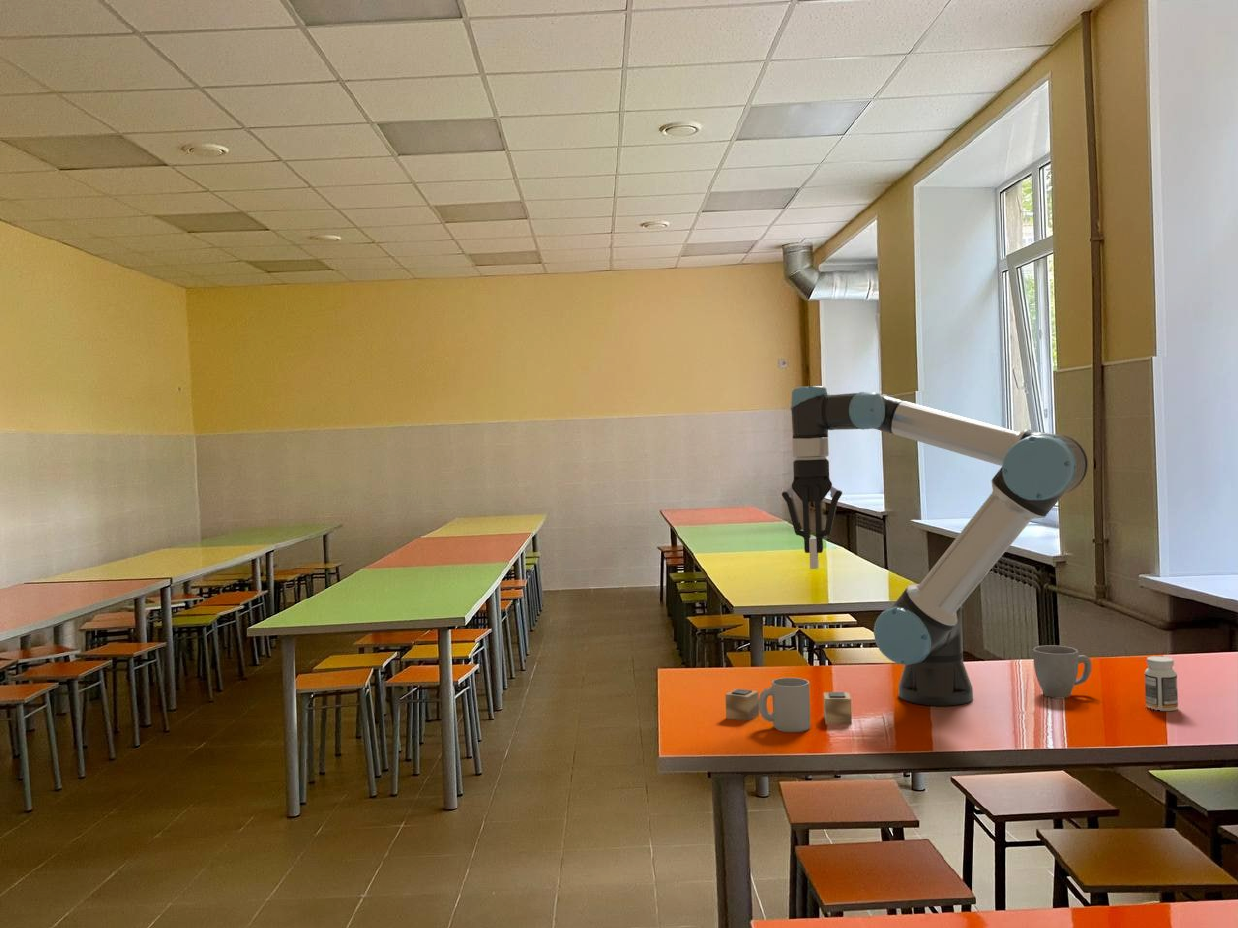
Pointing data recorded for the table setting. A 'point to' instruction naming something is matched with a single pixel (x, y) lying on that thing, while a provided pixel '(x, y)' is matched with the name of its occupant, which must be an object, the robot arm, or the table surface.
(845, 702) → the oak block
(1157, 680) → the pill bottle
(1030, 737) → the table surface
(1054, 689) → the mug
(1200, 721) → the table surface
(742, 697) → the oak block
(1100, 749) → the table surface
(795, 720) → the cup
